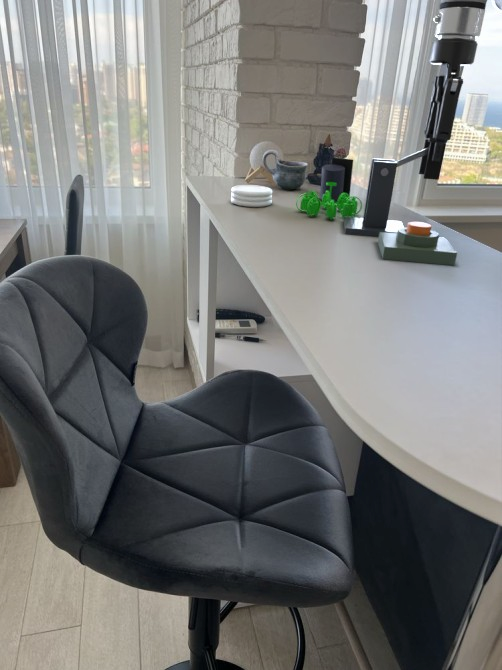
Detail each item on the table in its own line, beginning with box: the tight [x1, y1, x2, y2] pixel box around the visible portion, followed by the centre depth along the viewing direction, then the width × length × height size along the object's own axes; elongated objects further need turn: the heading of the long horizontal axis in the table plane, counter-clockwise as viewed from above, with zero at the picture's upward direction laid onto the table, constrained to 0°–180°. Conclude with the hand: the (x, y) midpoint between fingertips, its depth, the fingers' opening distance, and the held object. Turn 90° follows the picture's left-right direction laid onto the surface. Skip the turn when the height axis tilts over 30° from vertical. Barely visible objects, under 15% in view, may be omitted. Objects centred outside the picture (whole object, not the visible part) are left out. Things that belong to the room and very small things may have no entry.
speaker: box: [319, 157, 354, 203], centre depth 129 cm, size 8×6×10 cm
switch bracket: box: [343, 157, 405, 238], centre depth 102 cm, size 12×10×14 cm
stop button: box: [406, 221, 432, 236], centre depth 89 cm, size 4×4×2 cm
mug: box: [261, 149, 309, 190], centre depth 140 cm, size 10×12×10 cm
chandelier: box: [295, 182, 363, 221], centre depth 115 cm, size 15×15×7 cm
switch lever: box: [385, 144, 430, 168], centre depth 98 cm, size 12×5×2 cm, turn 82°
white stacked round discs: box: [230, 184, 273, 208], centre depth 122 cm, size 10×10×4 cm
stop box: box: [377, 226, 458, 266], centre depth 90 cm, size 12×10×4 cm
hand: (428, 176), depth 99 cm, fingers closed on switch lever, 5 cm apart
